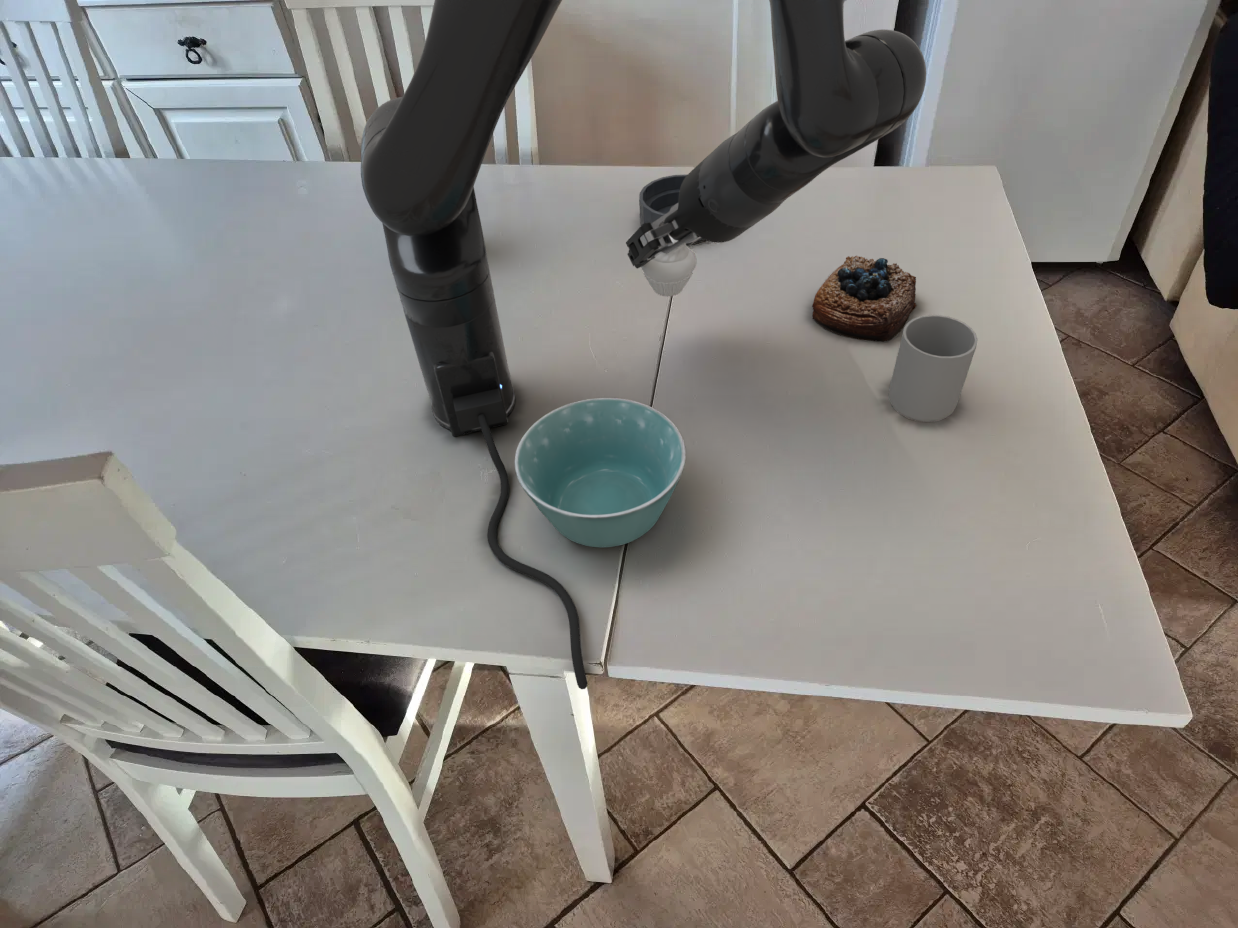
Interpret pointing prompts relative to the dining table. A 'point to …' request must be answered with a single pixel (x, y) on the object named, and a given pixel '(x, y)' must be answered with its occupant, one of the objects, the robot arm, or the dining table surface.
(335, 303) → the dining table surface
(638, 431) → the bowl
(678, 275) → the white cupcake
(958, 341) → the cup
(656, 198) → the grey shallow dish
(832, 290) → the pastry
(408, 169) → the robot arm
